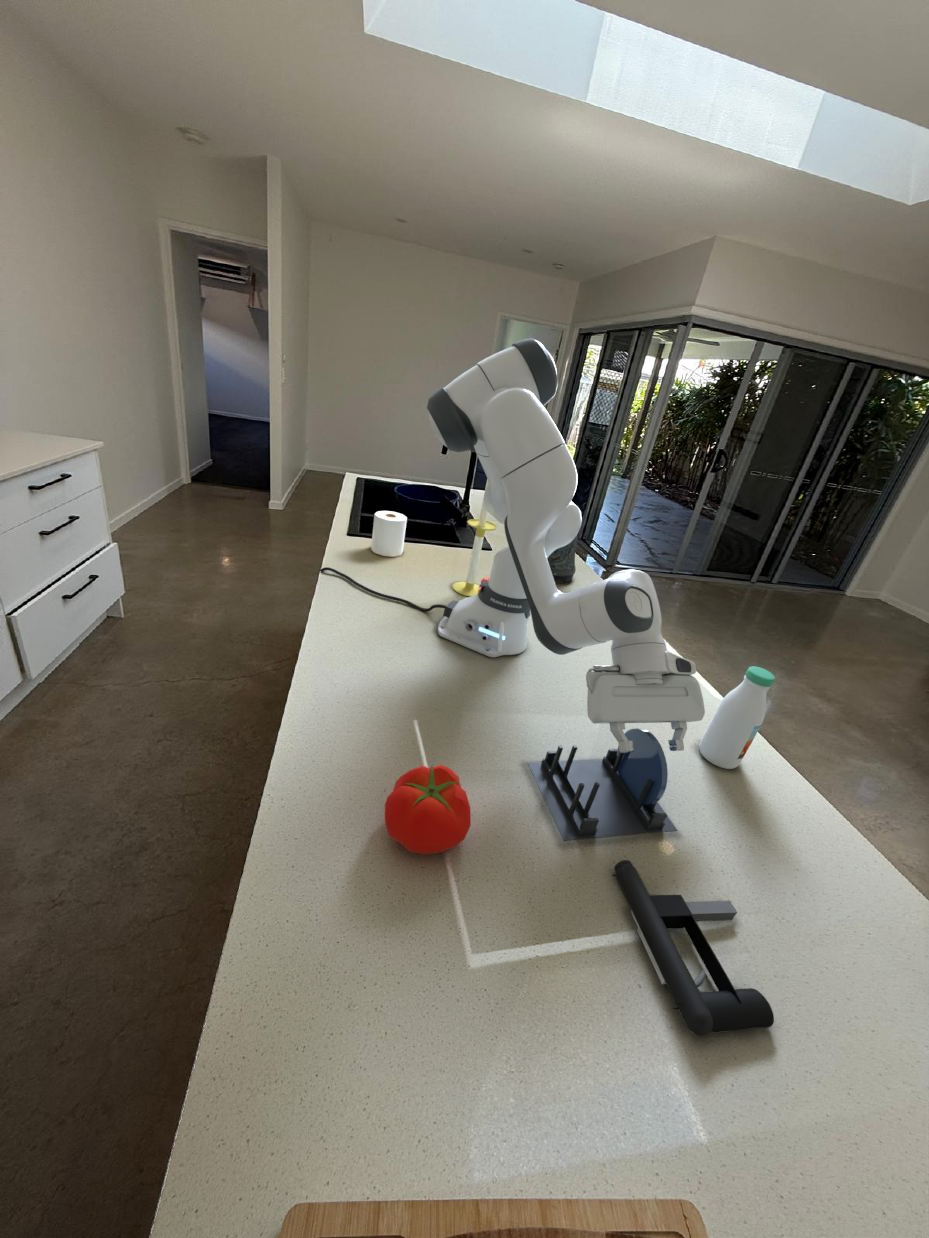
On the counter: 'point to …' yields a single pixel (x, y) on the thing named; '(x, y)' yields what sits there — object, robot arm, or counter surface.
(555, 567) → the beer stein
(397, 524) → the toilet paper
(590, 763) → the rack
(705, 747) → the milk bottle
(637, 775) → the plate
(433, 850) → the tomato
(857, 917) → the counter surface
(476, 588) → the candle
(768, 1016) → the door handle
